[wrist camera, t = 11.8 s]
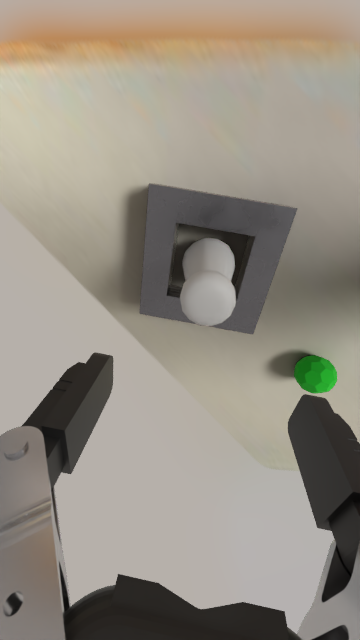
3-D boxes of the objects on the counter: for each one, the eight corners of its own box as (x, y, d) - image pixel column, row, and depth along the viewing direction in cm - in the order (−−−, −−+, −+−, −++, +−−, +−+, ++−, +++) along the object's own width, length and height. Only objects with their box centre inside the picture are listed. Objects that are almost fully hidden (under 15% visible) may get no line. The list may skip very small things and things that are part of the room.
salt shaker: (175, 252, 29) (152, 293, 18) (216, 223, 27) (220, 248, 16) (201, 290, 31) (196, 350, 20) (242, 266, 29) (262, 316, 18)
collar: (286, 205, 25) (297, 208, 22) (248, 320, 32) (252, 334, 29) (156, 184, 26) (148, 183, 23) (146, 301, 33) (139, 313, 30)
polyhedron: (327, 346, 33) (344, 369, 29) (327, 373, 35) (343, 398, 31) (288, 351, 34) (300, 374, 30) (290, 378, 36) (301, 402, 32)
